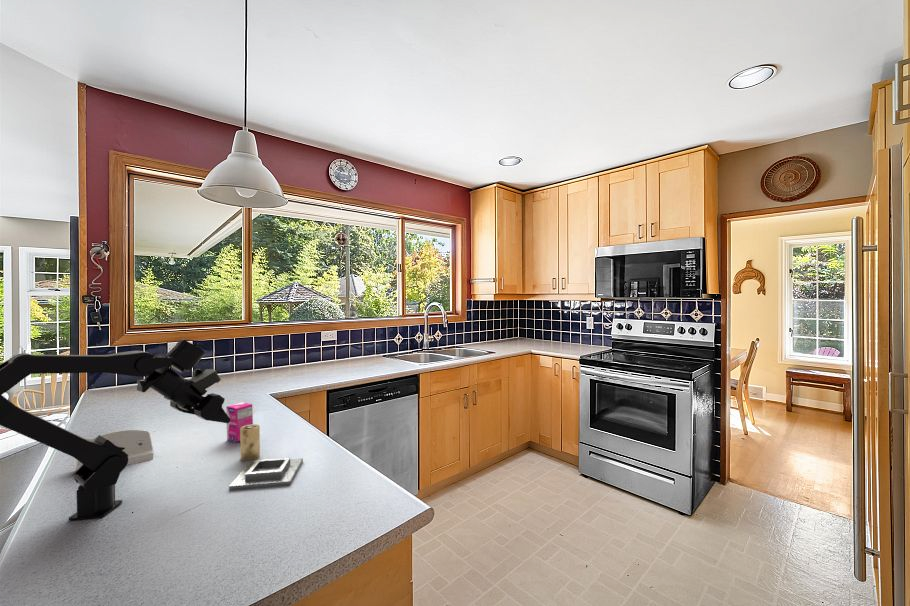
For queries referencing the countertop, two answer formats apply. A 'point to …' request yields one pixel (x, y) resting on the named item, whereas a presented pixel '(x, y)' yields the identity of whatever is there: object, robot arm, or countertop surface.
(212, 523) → the countertop surface
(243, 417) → the supplement box
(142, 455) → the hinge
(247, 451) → the brass cylinder
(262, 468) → the flange plate
